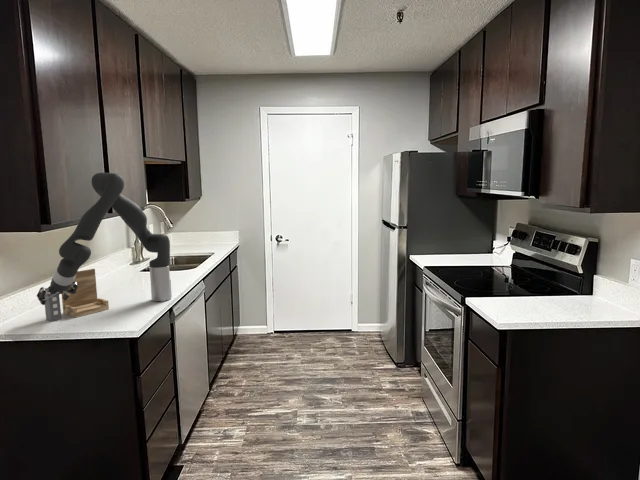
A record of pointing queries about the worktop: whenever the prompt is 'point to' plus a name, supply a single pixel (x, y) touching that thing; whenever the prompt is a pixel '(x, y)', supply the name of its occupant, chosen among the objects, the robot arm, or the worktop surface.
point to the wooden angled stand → (84, 296)
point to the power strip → (53, 308)
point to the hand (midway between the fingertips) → (53, 301)
